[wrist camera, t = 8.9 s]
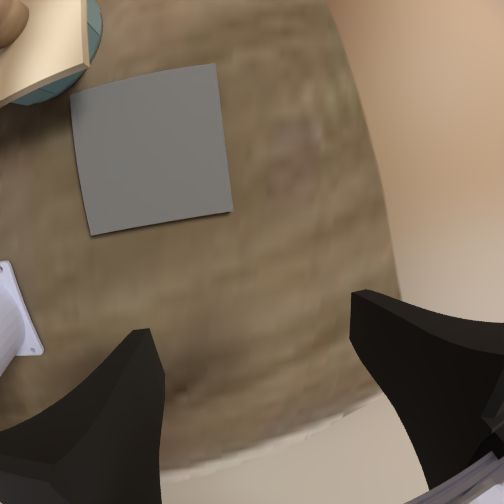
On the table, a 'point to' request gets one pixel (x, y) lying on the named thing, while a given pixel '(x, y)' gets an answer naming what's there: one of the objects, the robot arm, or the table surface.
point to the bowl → (64, 83)
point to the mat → (151, 149)
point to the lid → (40, 44)
